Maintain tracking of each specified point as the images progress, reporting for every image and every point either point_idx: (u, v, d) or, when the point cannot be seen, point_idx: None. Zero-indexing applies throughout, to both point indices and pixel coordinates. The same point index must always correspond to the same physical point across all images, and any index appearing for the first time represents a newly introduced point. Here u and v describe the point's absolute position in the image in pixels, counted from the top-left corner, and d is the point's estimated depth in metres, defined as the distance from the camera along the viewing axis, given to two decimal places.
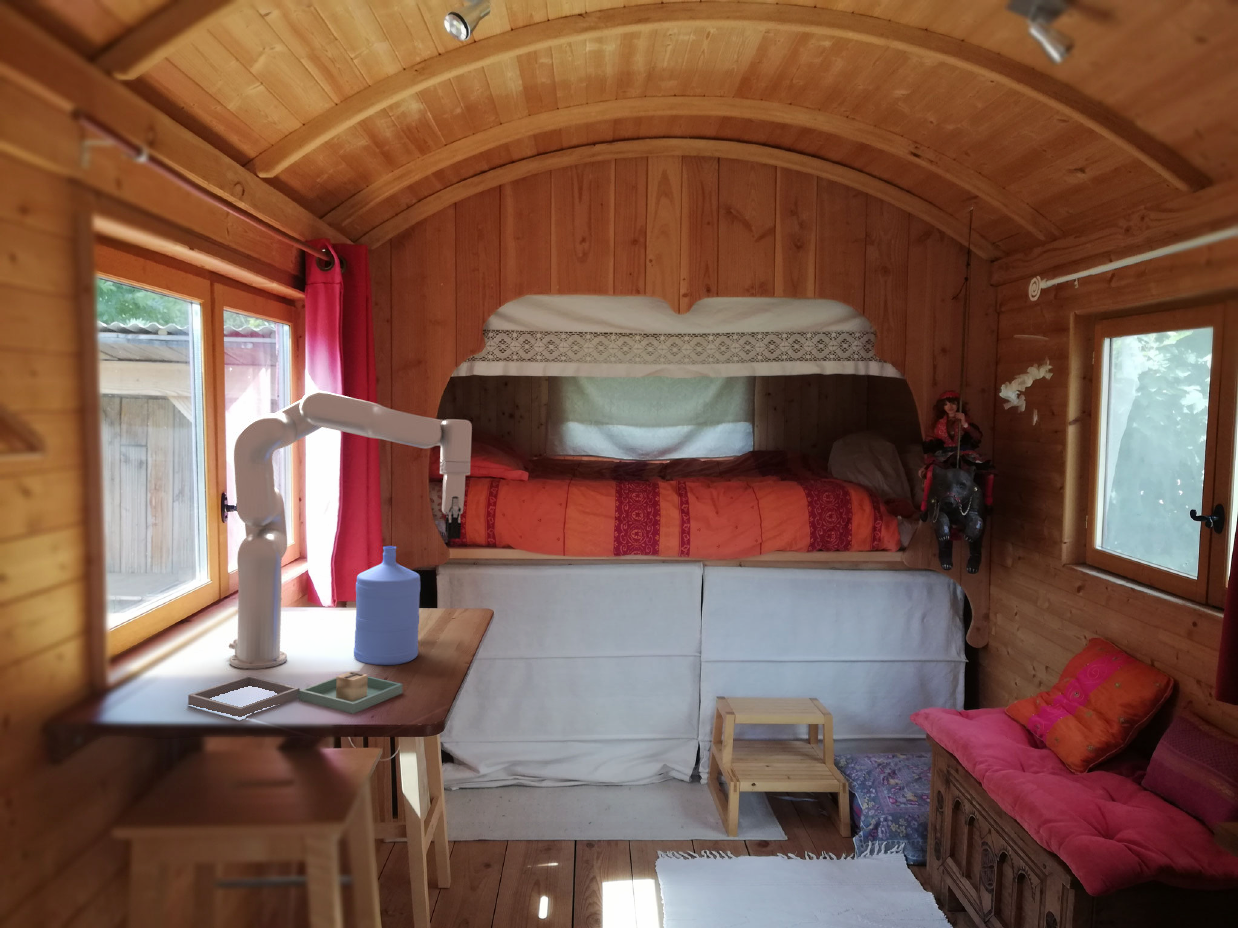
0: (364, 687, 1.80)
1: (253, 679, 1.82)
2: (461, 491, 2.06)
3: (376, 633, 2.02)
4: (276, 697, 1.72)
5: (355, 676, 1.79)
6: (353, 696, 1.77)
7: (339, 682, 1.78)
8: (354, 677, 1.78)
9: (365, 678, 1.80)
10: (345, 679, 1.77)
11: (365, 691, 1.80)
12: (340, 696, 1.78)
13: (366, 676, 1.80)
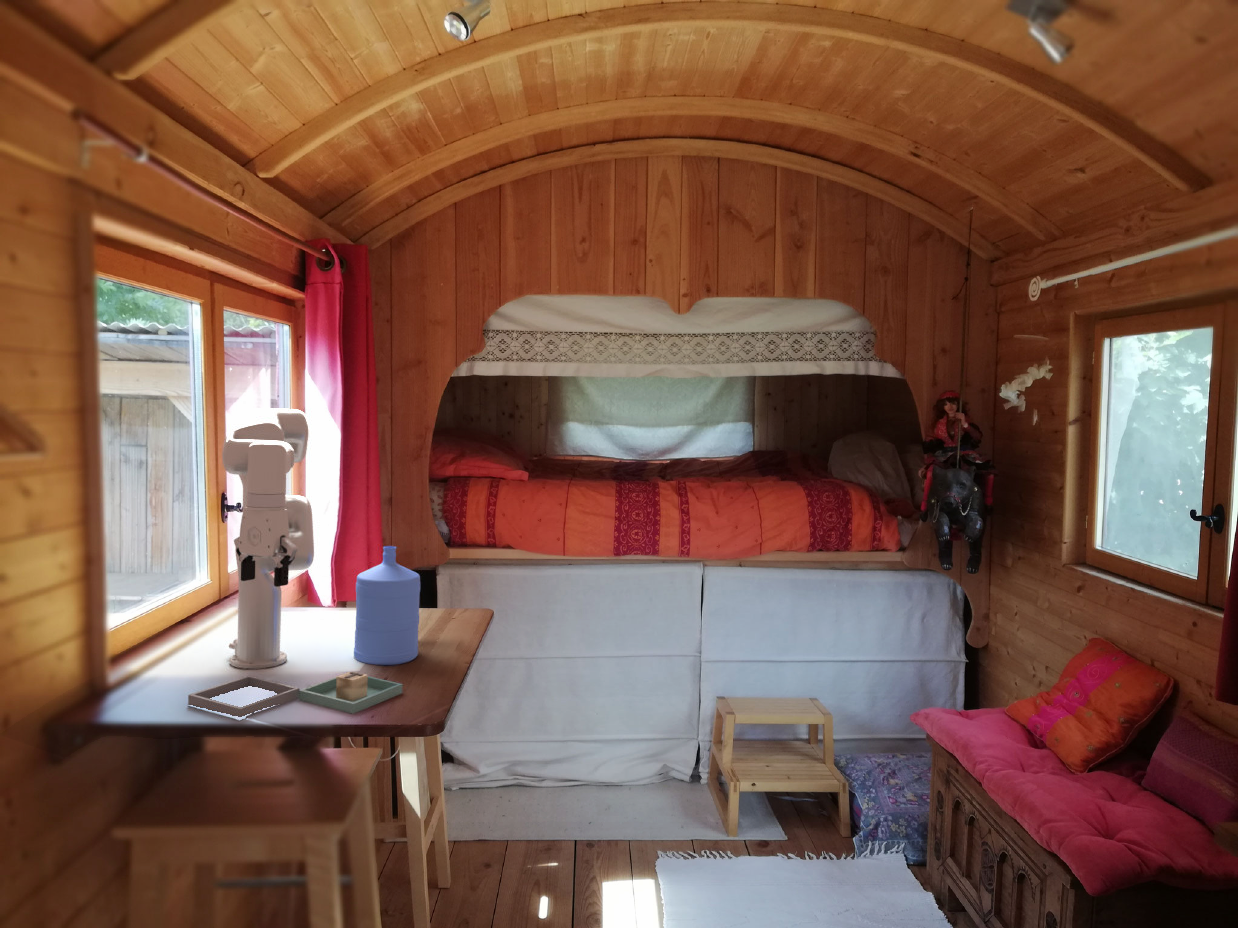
0: (364, 687, 1.80)
1: (253, 679, 1.82)
2: (287, 528, 1.73)
3: (376, 633, 2.02)
4: (276, 697, 1.72)
5: (355, 676, 1.79)
6: (353, 696, 1.77)
7: (339, 682, 1.78)
8: (354, 677, 1.78)
9: (365, 678, 1.80)
10: (345, 679, 1.77)
11: (365, 691, 1.80)
12: (340, 696, 1.78)
13: (366, 676, 1.80)
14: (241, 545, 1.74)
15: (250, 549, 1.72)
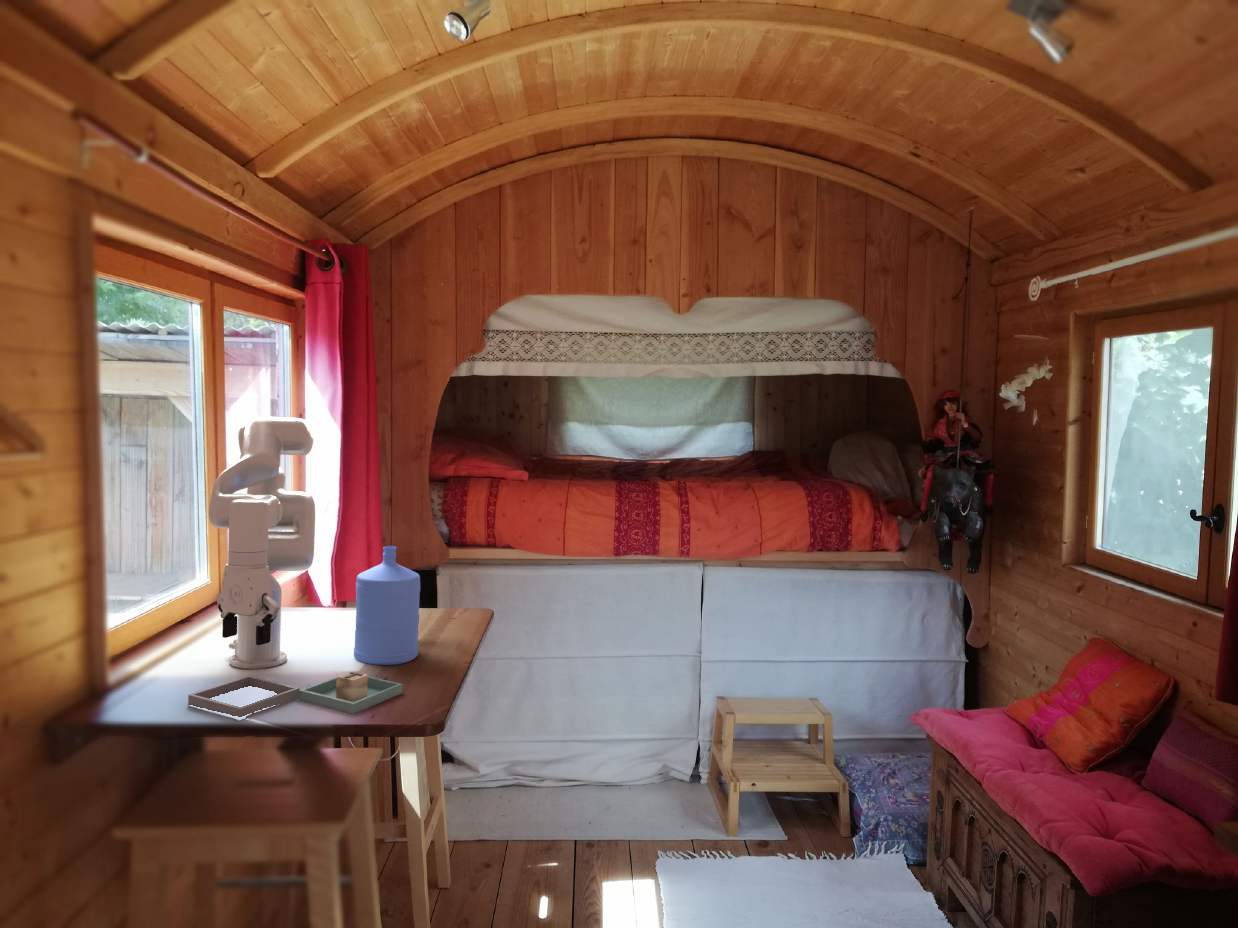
0: (364, 687, 1.80)
1: (253, 679, 1.82)
2: (269, 585, 1.72)
3: (376, 633, 2.02)
4: (276, 697, 1.72)
5: (355, 676, 1.79)
6: (353, 696, 1.77)
7: (339, 682, 1.78)
8: (354, 677, 1.78)
9: (365, 678, 1.80)
10: (345, 679, 1.77)
11: (365, 691, 1.80)
12: (340, 696, 1.78)
13: (366, 676, 1.80)
14: (223, 602, 1.72)
15: (232, 607, 1.71)
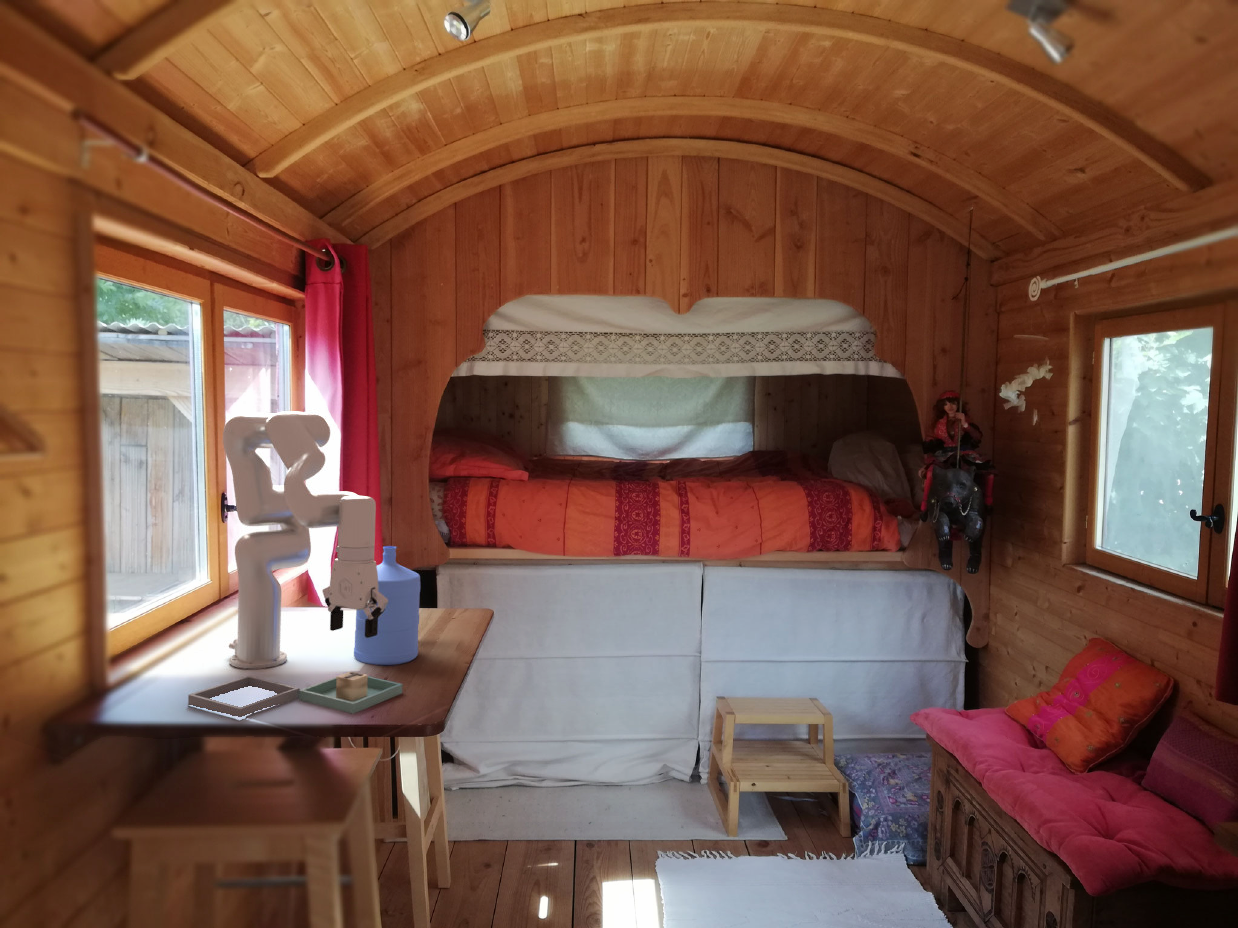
0: (364, 687, 1.80)
1: (253, 679, 1.82)
2: (377, 580, 1.77)
3: None
4: (276, 697, 1.72)
5: (355, 676, 1.79)
6: (353, 696, 1.77)
7: (339, 682, 1.78)
8: (354, 677, 1.78)
9: (365, 678, 1.80)
10: (345, 679, 1.77)
11: (365, 691, 1.80)
12: (340, 696, 1.78)
13: (366, 676, 1.80)
14: (331, 596, 1.78)
15: (341, 601, 1.76)
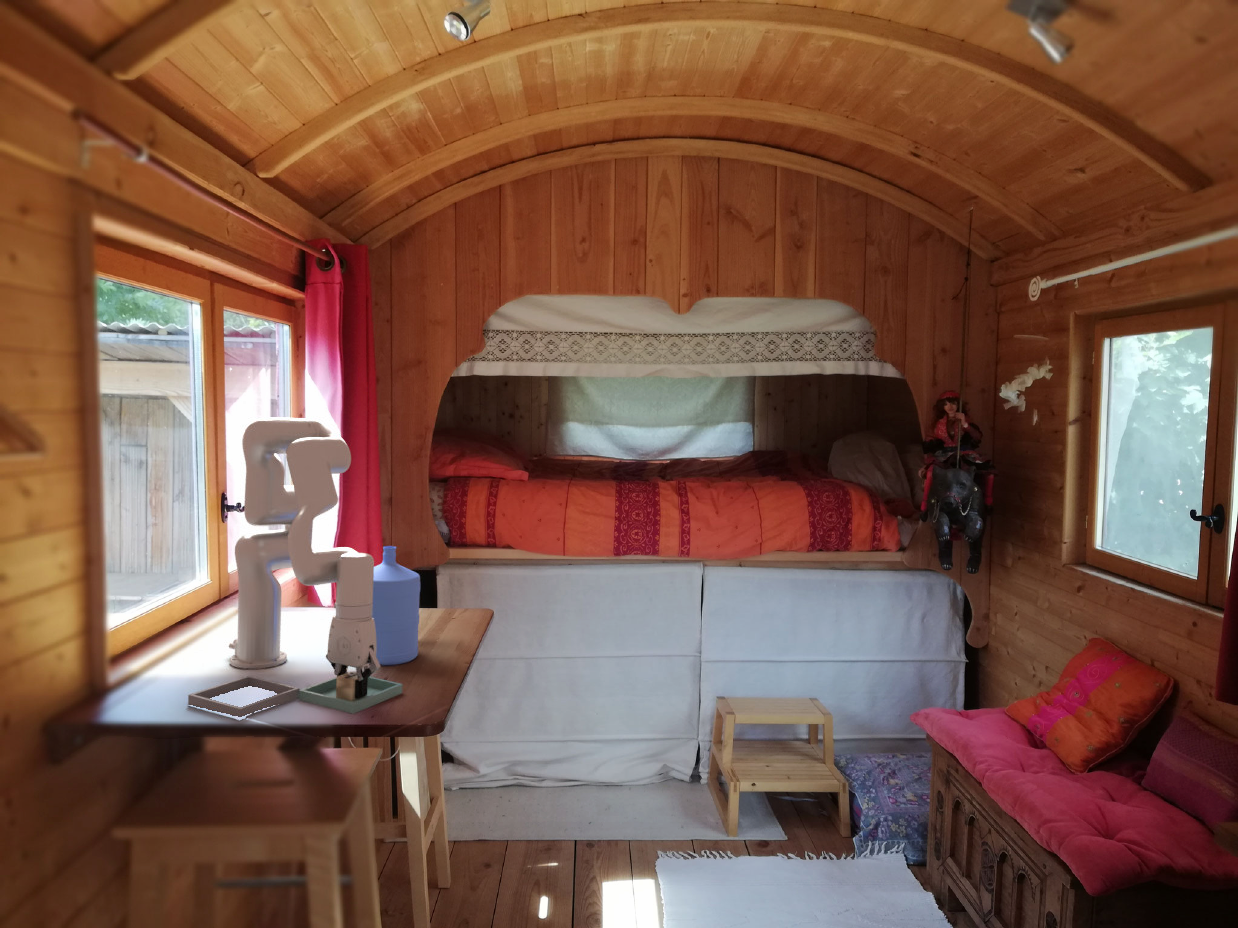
0: None
1: (253, 679, 1.82)
2: (375, 637, 1.78)
3: (376, 633, 2.02)
4: (276, 697, 1.72)
5: (355, 676, 1.79)
6: (353, 696, 1.77)
7: (339, 682, 1.78)
8: (354, 677, 1.78)
9: None
10: (345, 679, 1.77)
11: None
12: (340, 696, 1.78)
13: None
14: (330, 653, 1.78)
15: (339, 658, 1.77)
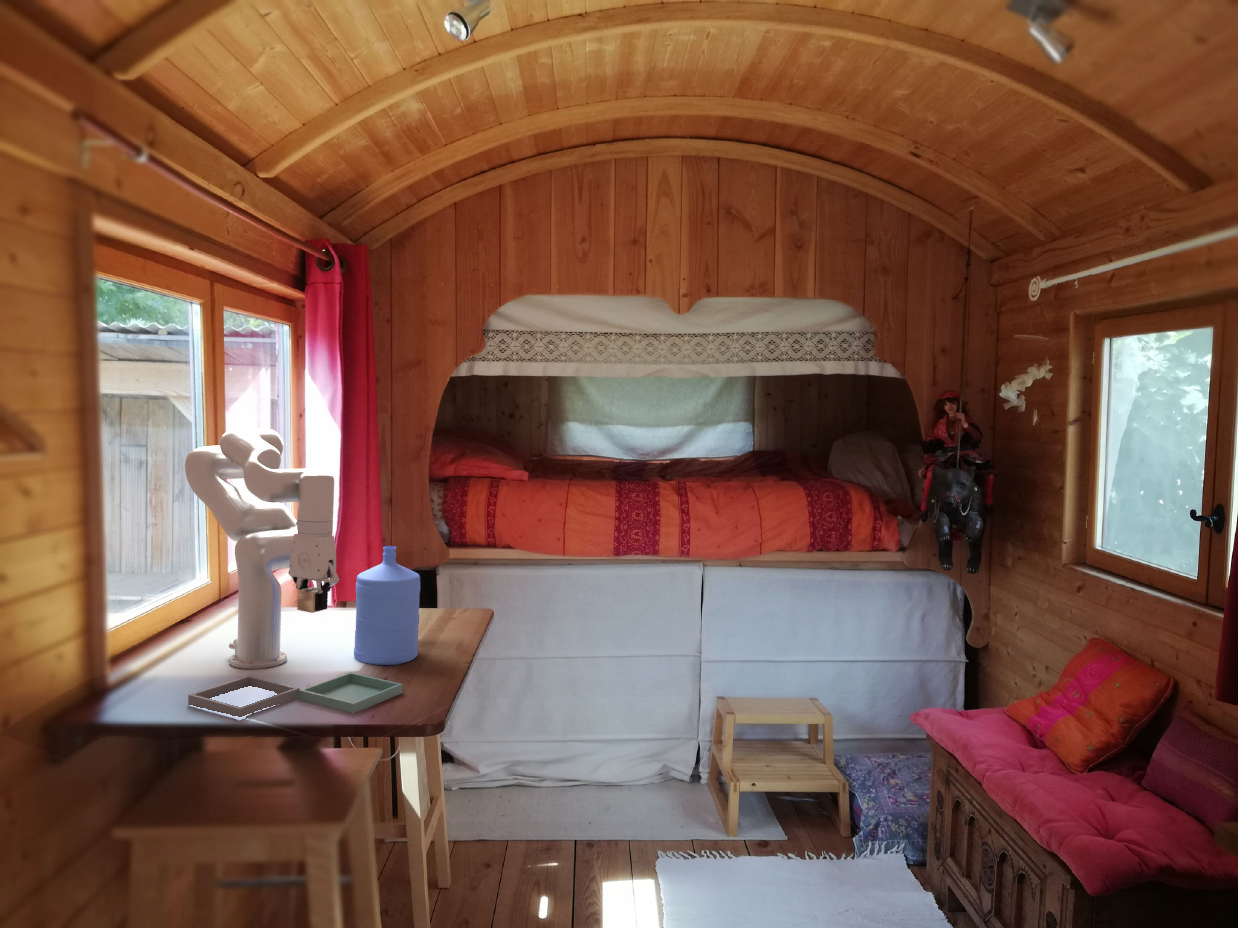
0: None
1: (253, 679, 1.82)
2: (334, 553, 1.86)
3: (376, 633, 2.02)
4: (276, 697, 1.72)
5: (316, 590, 1.87)
6: (313, 608, 1.85)
7: (300, 595, 1.86)
8: (314, 591, 1.86)
9: None
10: (306, 592, 1.86)
11: None
12: (301, 609, 1.86)
13: None
14: (291, 568, 1.86)
15: (300, 572, 1.85)
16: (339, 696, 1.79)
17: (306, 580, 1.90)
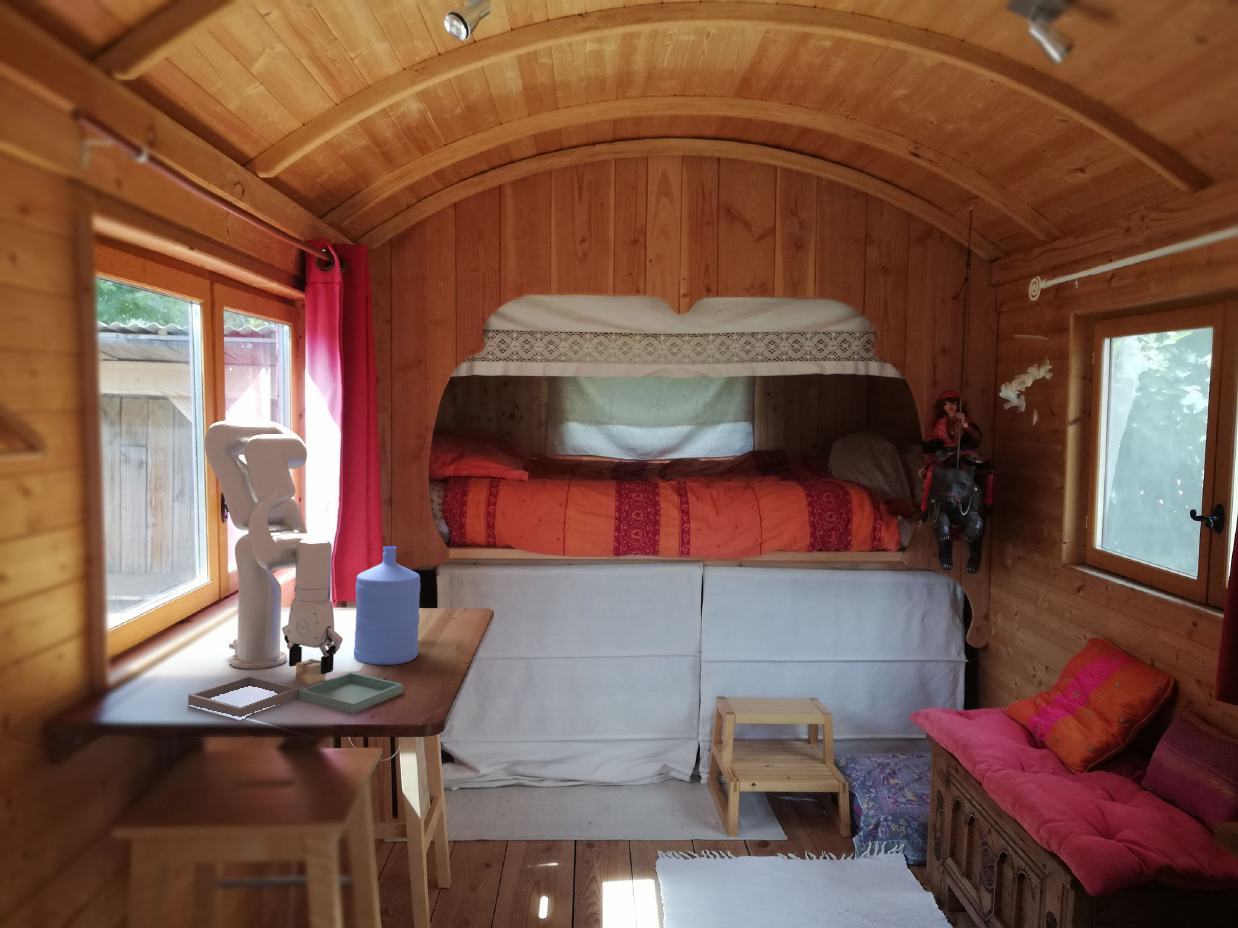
0: (322, 674, 1.89)
1: (253, 679, 1.82)
2: (332, 619, 1.87)
3: (376, 633, 2.02)
4: (276, 697, 1.72)
5: (313, 663, 1.88)
6: (311, 682, 1.86)
7: (298, 669, 1.87)
8: (312, 664, 1.87)
9: None
10: (304, 666, 1.86)
11: (323, 677, 1.89)
12: None
13: None
14: (290, 634, 1.87)
15: (298, 639, 1.86)
16: (339, 696, 1.79)
17: None
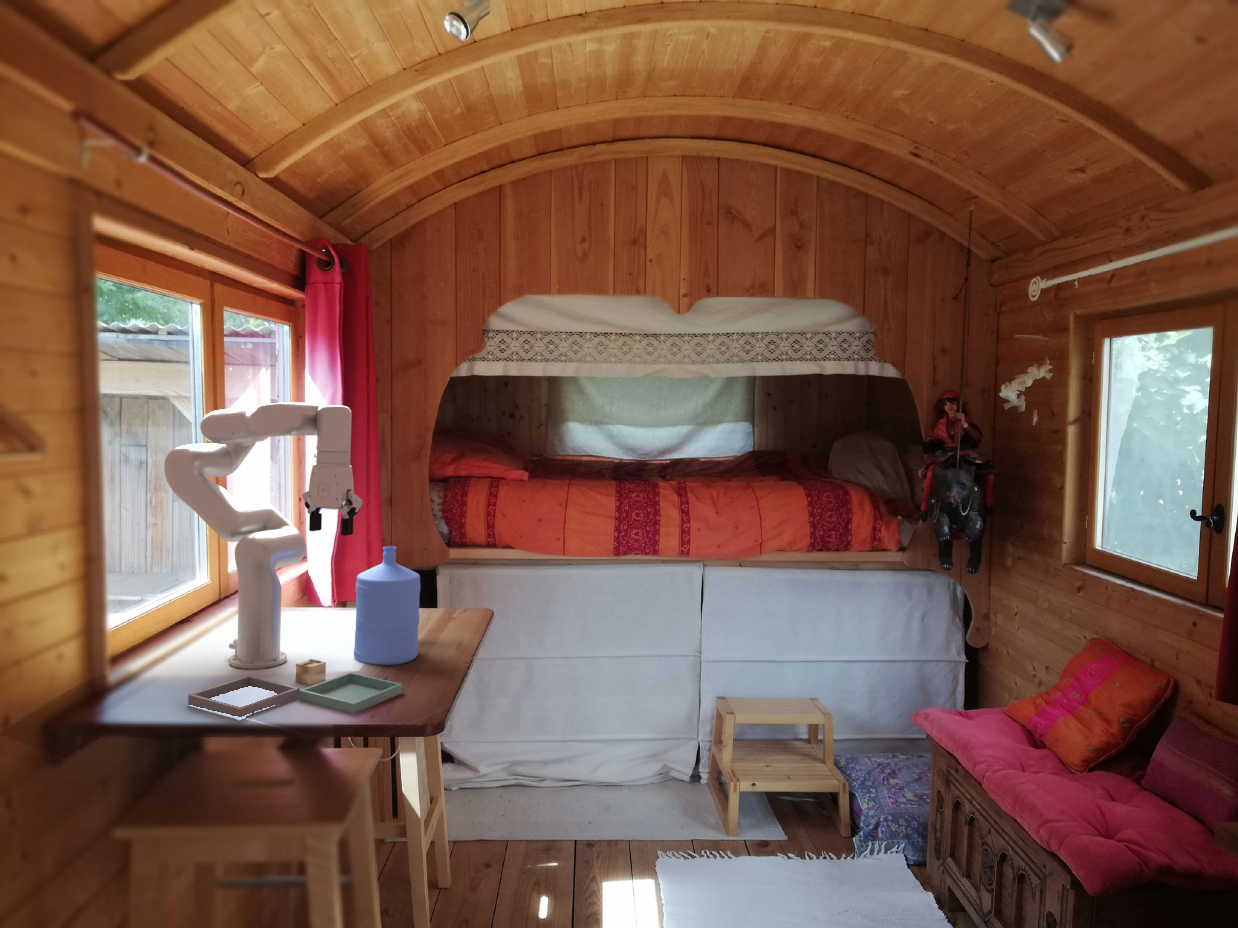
0: (322, 674, 1.89)
1: (253, 679, 1.82)
2: (352, 483, 1.91)
3: (376, 633, 2.02)
4: (276, 697, 1.72)
5: (313, 663, 1.88)
6: (311, 682, 1.86)
7: (298, 669, 1.87)
8: (312, 664, 1.87)
9: (323, 665, 1.89)
10: (304, 666, 1.87)
11: (323, 677, 1.89)
12: None
13: (324, 663, 1.89)
14: (310, 498, 1.91)
15: (319, 502, 1.90)
16: (339, 696, 1.79)
17: None
